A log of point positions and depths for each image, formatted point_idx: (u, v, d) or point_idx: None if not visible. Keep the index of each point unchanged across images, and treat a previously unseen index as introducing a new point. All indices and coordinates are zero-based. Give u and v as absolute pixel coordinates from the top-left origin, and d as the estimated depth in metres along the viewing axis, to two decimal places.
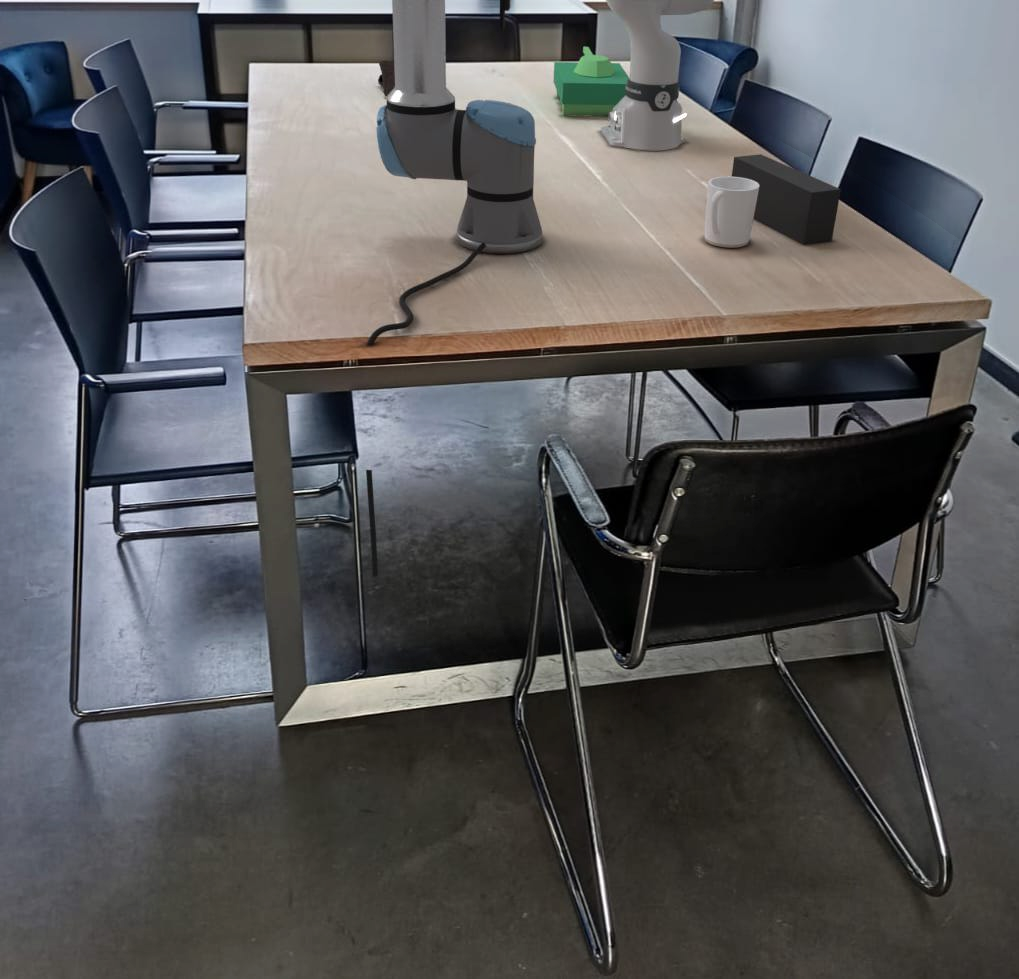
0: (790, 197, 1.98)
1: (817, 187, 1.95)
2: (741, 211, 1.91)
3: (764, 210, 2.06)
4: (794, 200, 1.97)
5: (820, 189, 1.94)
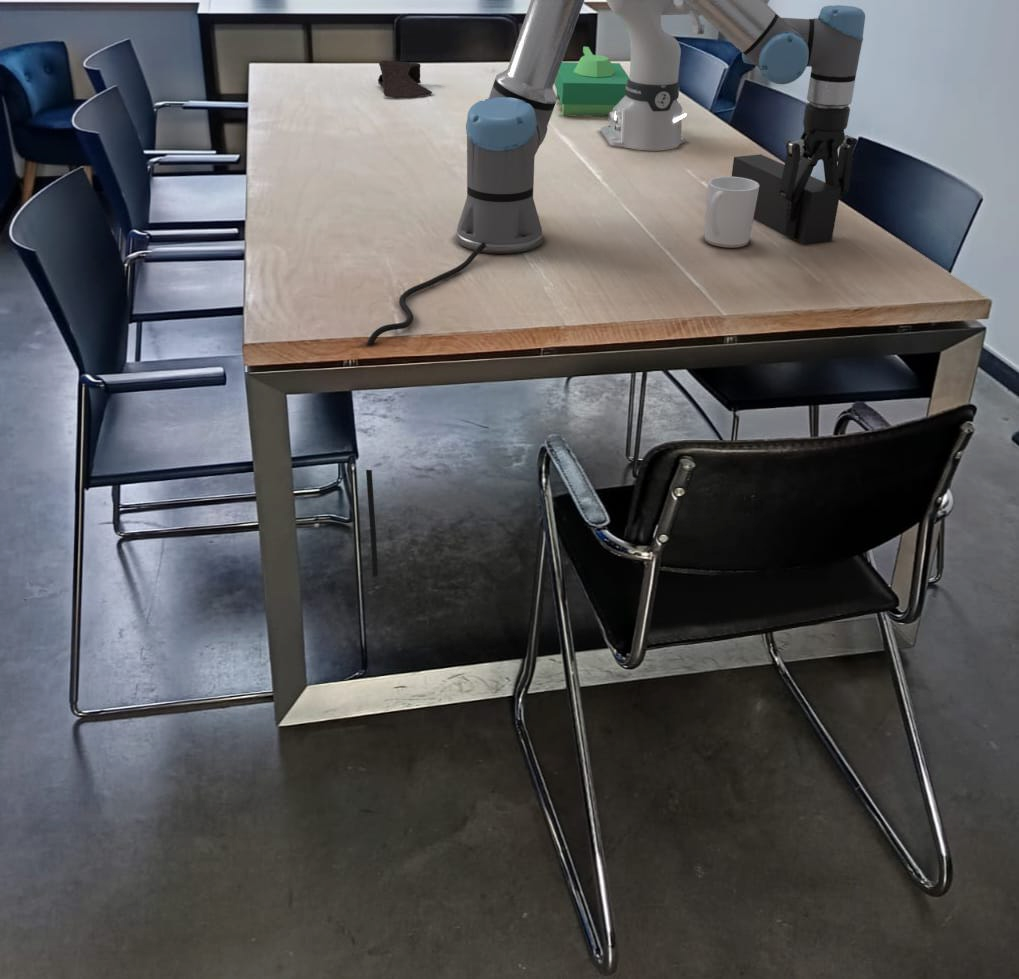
0: None
1: (817, 187, 1.95)
2: (741, 211, 1.91)
3: (764, 210, 2.06)
4: None
5: (820, 189, 1.94)
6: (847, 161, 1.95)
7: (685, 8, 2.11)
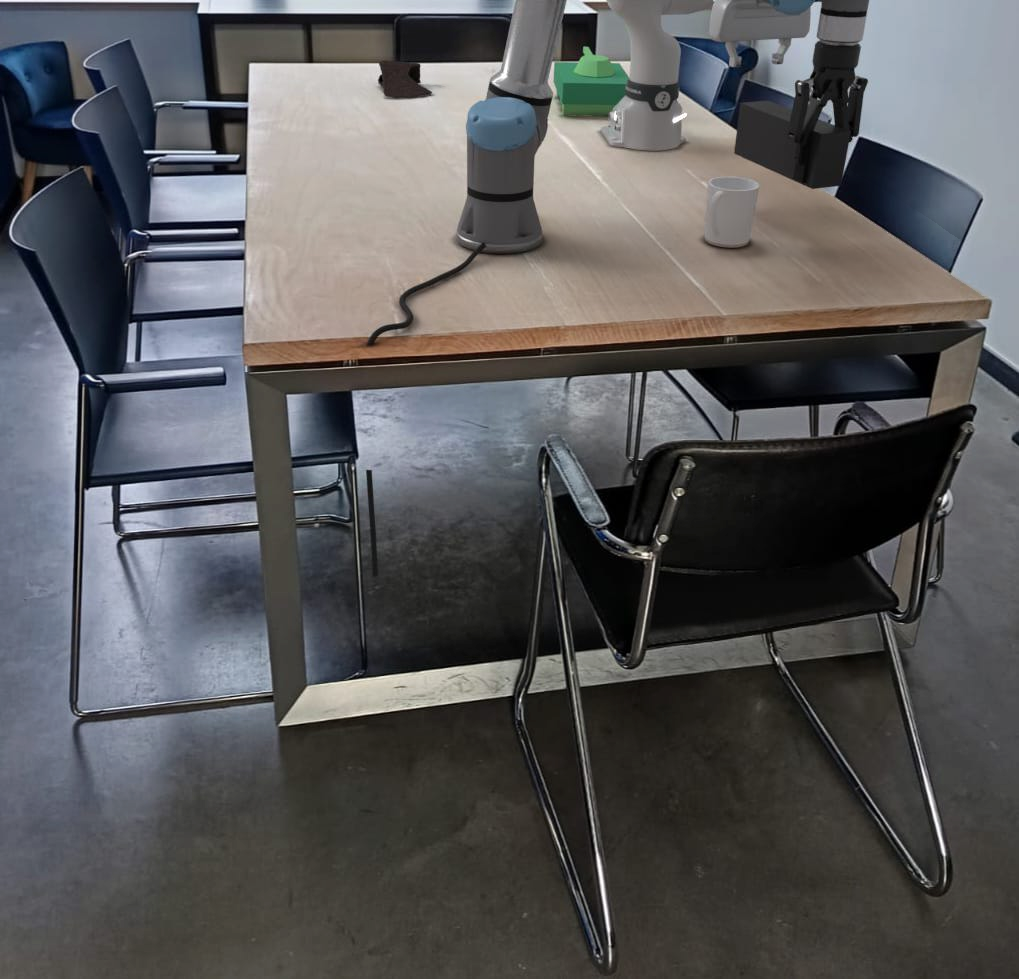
0: None
1: (826, 129, 1.89)
2: (741, 211, 1.91)
3: (771, 156, 2.01)
4: None
5: (830, 131, 1.89)
6: (857, 102, 1.89)
7: (721, 40, 1.99)
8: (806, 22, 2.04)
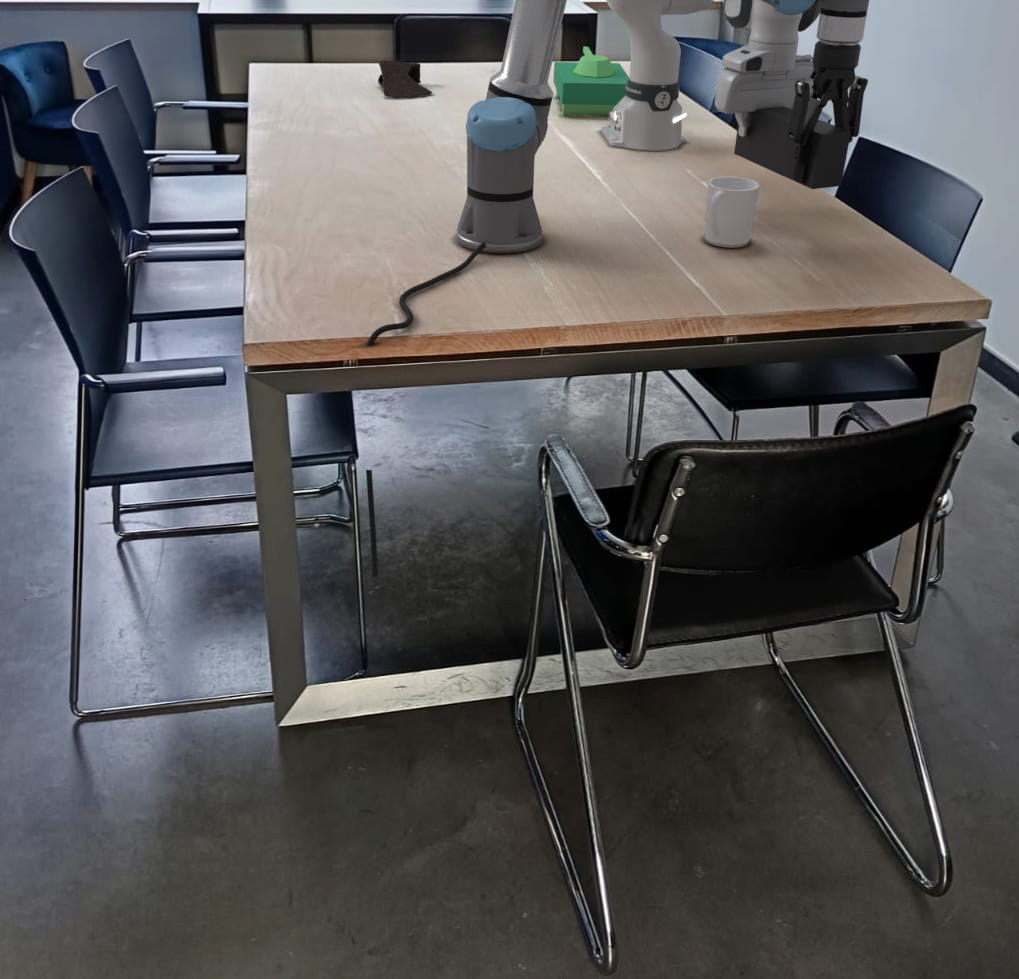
0: None
1: (826, 130, 1.89)
2: (741, 211, 1.91)
3: (771, 156, 2.01)
4: None
5: (830, 131, 1.89)
6: (857, 102, 1.89)
7: (727, 112, 2.00)
8: (811, 92, 2.05)
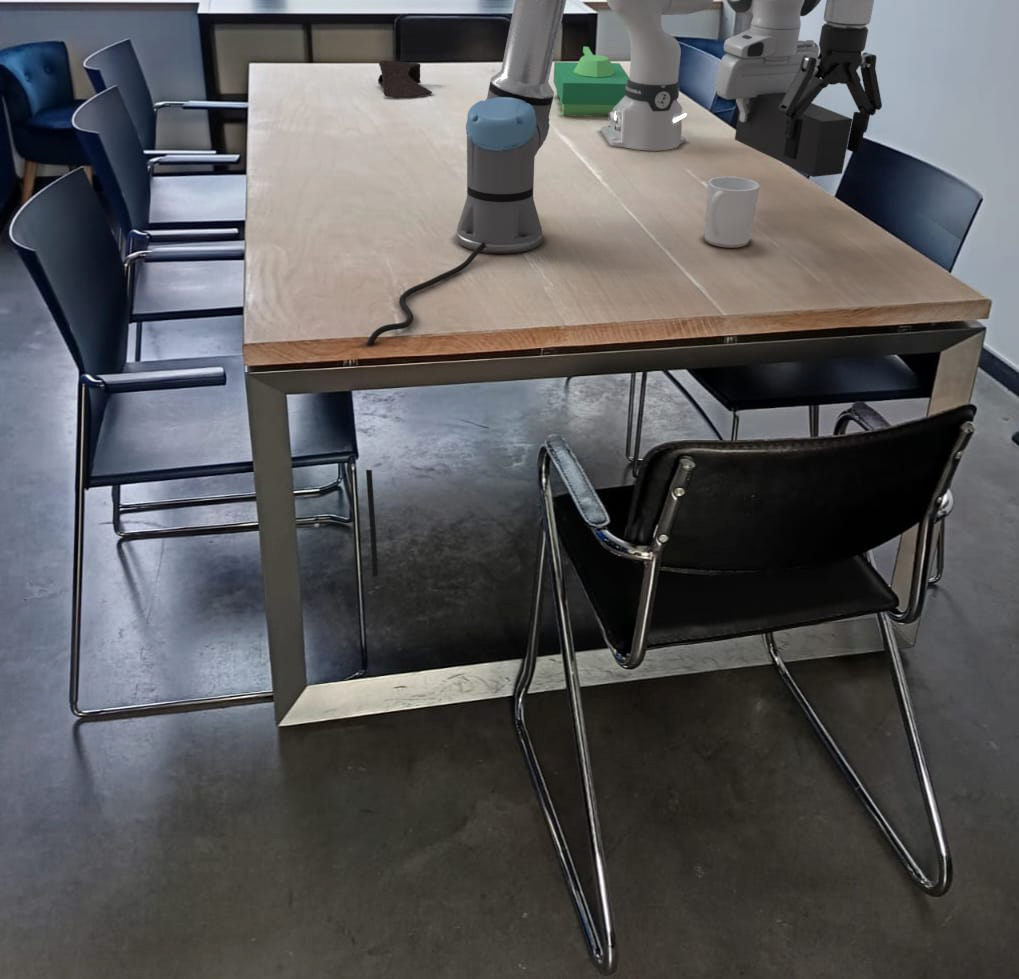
0: None
1: (827, 117, 1.89)
2: (741, 211, 1.91)
3: (772, 143, 2.00)
4: (804, 130, 1.91)
5: (831, 118, 1.88)
6: (871, 79, 1.87)
7: (728, 97, 1.99)
8: None
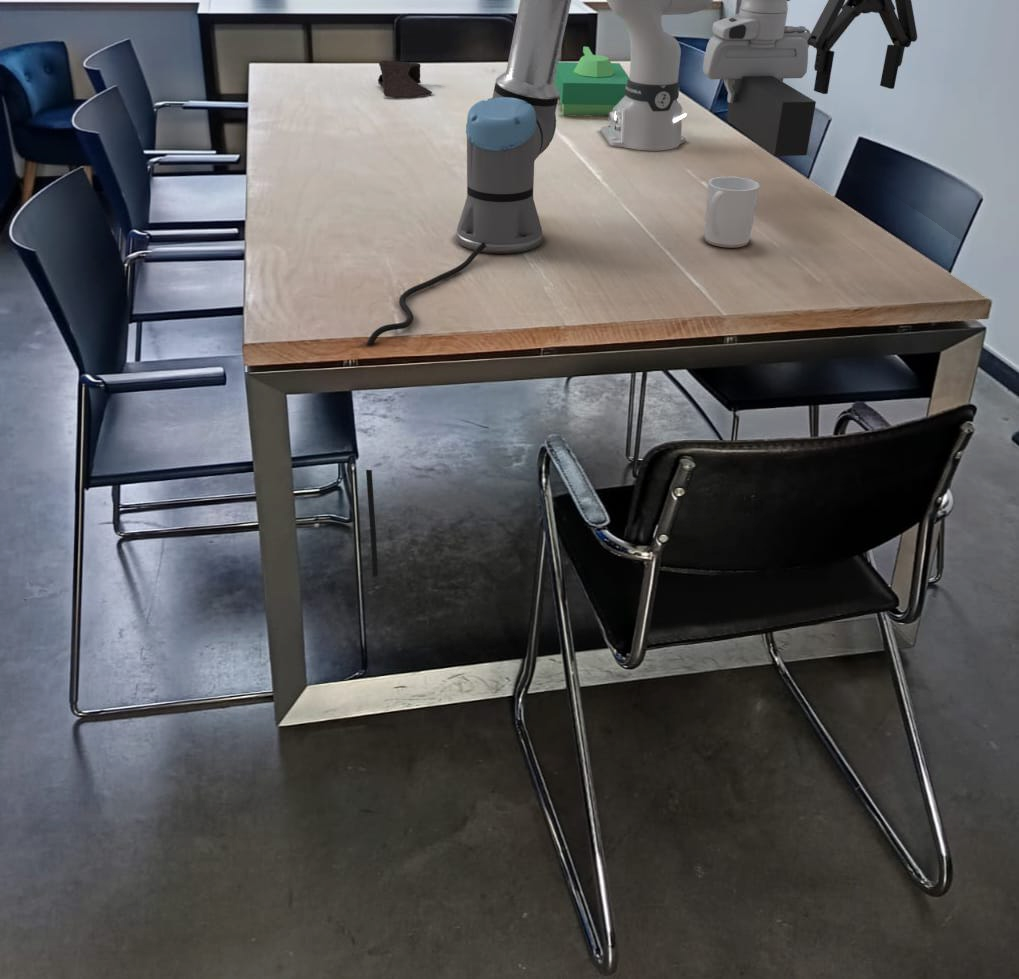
0: (768, 108, 1.99)
1: (792, 99, 1.95)
2: (741, 211, 1.91)
3: (750, 123, 2.07)
4: (771, 111, 1.98)
5: (794, 100, 1.94)
6: (906, 8, 1.77)
7: (711, 77, 2.08)
8: (803, 64, 2.10)
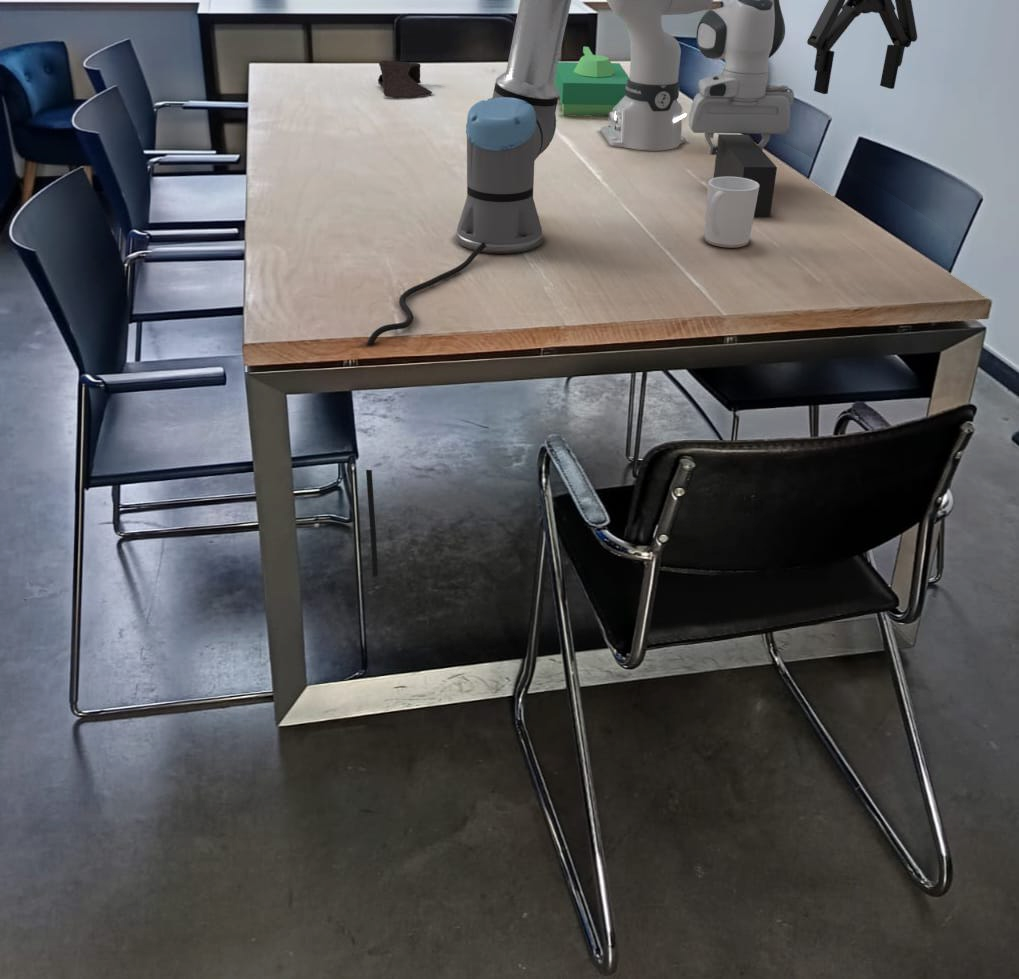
0: (736, 171, 2.12)
1: (755, 164, 2.08)
2: (741, 211, 1.91)
3: None
4: (737, 174, 2.11)
5: (756, 165, 2.07)
6: (906, 8, 1.77)
7: (694, 131, 2.21)
8: (785, 121, 2.21)
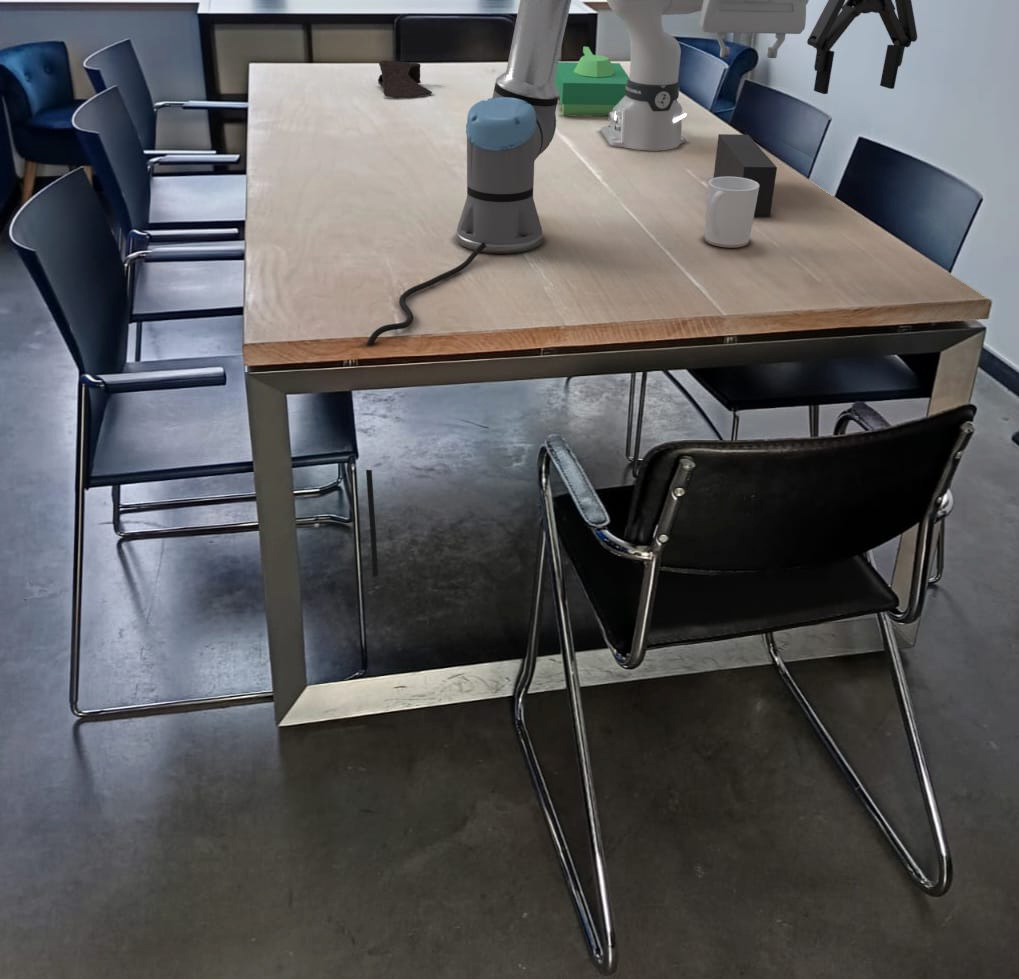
0: (736, 171, 2.12)
1: (755, 164, 2.08)
2: (741, 211, 1.91)
3: None
4: (737, 174, 2.11)
5: (756, 165, 2.07)
6: (906, 8, 1.77)
7: (705, 30, 2.11)
8: (800, 19, 2.10)
